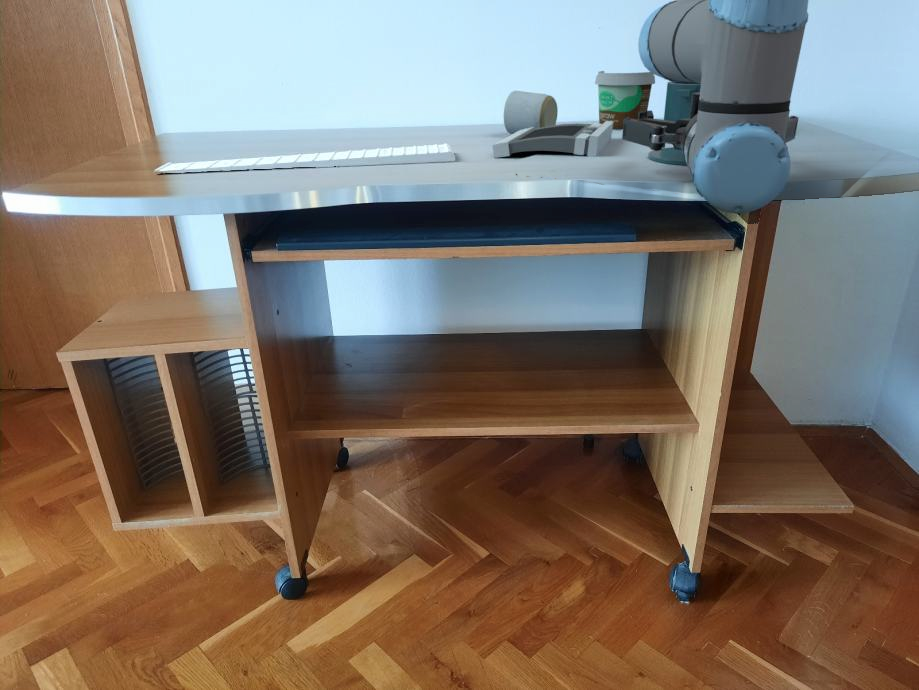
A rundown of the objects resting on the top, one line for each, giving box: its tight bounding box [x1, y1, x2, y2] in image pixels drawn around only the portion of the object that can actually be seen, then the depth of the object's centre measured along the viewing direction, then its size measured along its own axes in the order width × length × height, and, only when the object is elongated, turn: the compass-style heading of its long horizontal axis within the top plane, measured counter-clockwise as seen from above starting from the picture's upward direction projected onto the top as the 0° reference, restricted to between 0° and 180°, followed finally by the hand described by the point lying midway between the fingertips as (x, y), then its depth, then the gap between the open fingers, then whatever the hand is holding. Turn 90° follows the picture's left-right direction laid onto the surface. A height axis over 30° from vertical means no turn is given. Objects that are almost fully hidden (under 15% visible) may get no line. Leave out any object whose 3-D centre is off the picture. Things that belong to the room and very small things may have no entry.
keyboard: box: [153, 142, 456, 173], centre depth 99 cm, size 45×8×2 cm, turn 95°
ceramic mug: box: [503, 90, 558, 135], centre depth 119 cm, size 11×8×8 cm
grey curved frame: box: [491, 121, 613, 159], centre depth 103 cm, size 17×5×16 cm
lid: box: [647, 92, 700, 166], centre depth 89 cm, size 13×13×9 cm
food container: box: [594, 70, 656, 130], centre depth 123 cm, size 12×6×10 cm, turn 42°
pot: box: [663, 81, 701, 121], centre depth 114 cm, size 12×17×8 cm
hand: (700, 120), depth 86 cm, fingers open, 13 cm apart
